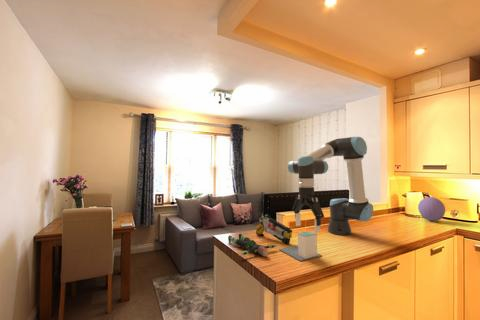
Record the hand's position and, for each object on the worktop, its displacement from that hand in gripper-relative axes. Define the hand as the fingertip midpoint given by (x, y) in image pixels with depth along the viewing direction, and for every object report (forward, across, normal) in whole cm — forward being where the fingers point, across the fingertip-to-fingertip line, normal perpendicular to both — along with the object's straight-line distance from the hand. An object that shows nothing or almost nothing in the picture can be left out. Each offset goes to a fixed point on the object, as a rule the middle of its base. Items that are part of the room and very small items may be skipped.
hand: (307, 228), depth 115 cm
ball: (+17, -10, +144) cm, 146 cm away
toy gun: (+14, -31, 0) cm, 34 cm away
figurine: (+14, -23, -22) cm, 34 cm away
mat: (+14, -5, -1) cm, 15 cm away
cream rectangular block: (+13, 0, 0) cm, 13 cm away
